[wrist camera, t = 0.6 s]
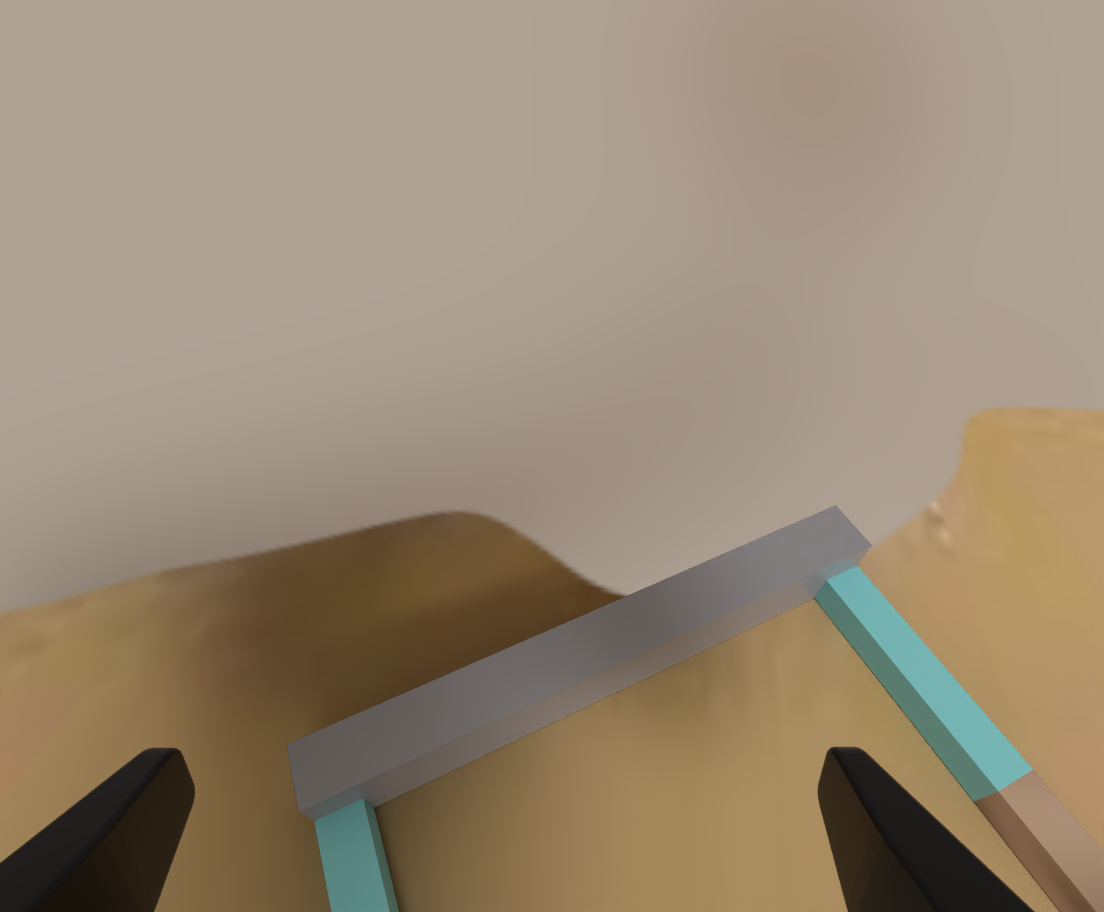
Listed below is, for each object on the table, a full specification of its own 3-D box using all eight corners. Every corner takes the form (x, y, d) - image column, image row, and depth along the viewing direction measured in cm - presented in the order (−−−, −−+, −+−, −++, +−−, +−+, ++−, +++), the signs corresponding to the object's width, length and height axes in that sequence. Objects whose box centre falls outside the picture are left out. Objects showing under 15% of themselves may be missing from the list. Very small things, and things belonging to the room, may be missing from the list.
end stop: (843, 584, 26) (872, 545, 23) (328, 829, 20) (298, 811, 18) (811, 545, 27) (835, 505, 24) (316, 768, 21) (286, 744, 19)
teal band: (1006, 780, 21) (1033, 769, 20) (395, 1165, 16) (381, 1181, 14) (843, 584, 26) (857, 565, 24) (328, 829, 20) (314, 821, 19)
